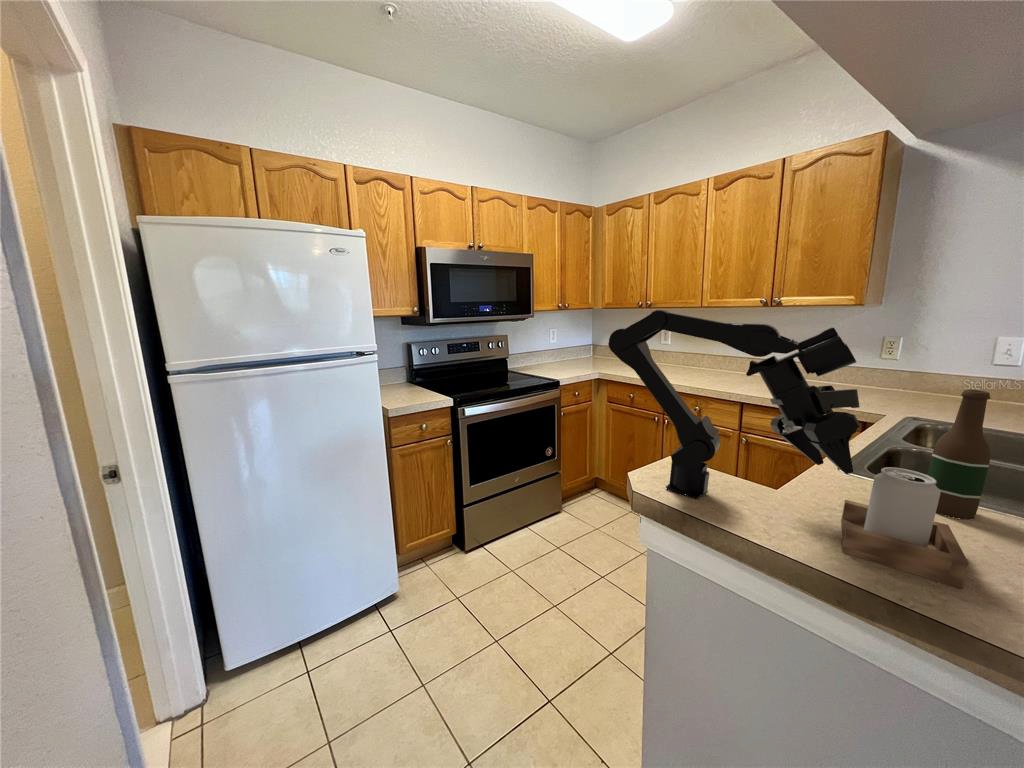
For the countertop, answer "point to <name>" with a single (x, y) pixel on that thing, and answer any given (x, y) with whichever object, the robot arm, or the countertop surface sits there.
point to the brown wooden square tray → (905, 548)
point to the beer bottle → (962, 459)
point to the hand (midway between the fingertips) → (834, 468)
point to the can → (902, 505)
